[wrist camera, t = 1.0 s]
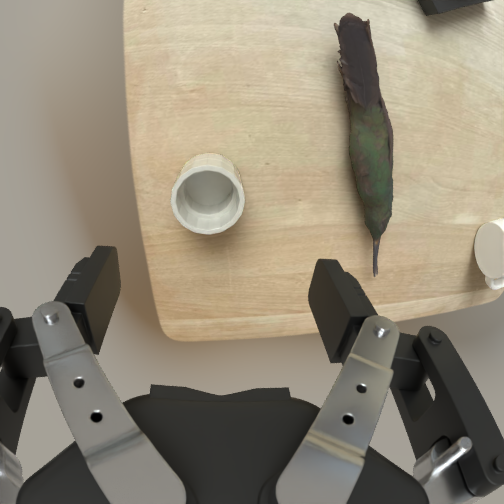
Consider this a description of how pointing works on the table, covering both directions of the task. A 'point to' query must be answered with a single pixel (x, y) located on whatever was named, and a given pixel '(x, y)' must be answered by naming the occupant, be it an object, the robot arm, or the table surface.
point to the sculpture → (367, 125)
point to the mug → (491, 252)
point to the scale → (445, 5)
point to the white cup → (208, 194)
